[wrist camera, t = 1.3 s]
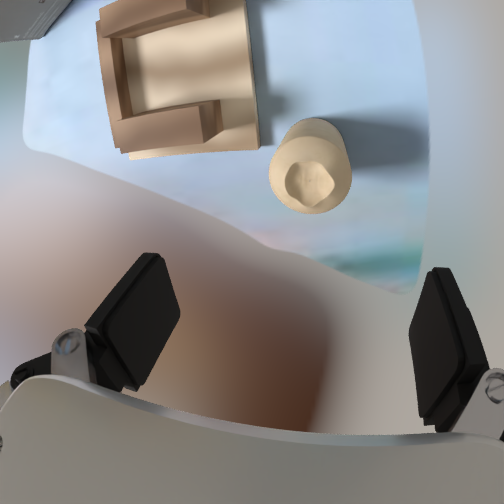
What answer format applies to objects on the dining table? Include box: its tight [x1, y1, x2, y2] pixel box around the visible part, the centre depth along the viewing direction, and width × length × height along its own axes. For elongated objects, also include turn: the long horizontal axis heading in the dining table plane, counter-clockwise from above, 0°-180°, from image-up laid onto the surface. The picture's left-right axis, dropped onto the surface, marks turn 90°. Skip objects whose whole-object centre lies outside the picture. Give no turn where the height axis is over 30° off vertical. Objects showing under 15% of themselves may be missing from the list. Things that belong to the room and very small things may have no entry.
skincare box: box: [0, 0, 72, 42], centre depth 13 cm, size 8×7×16 cm
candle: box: [269, 118, 352, 214], centre depth 22 cm, size 6×6×10 cm
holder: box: [96, 0, 261, 160], centre depth 21 cm, size 18×14×6 cm
